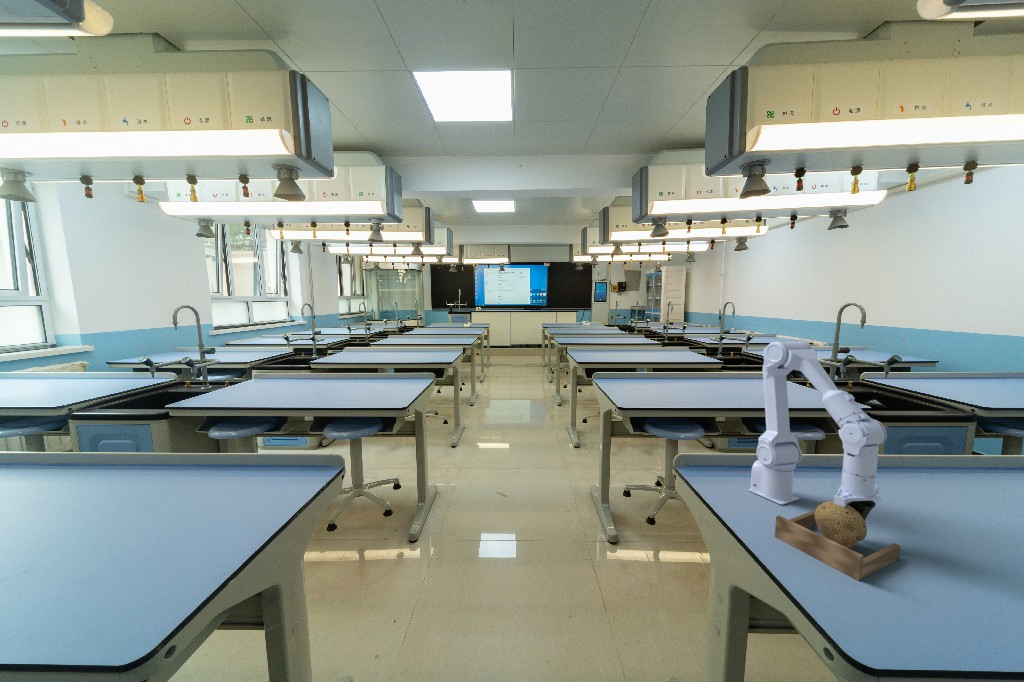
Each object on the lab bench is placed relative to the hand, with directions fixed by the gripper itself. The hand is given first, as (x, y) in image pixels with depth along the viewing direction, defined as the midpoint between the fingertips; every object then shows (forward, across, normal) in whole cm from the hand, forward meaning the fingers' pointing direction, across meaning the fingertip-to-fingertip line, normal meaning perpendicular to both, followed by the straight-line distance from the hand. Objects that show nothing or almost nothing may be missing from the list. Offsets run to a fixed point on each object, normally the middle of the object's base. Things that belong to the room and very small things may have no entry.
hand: (853, 529), depth 90 cm
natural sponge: (+3, -6, 0) cm, 7 cm away
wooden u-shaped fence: (+2, -7, 0) cm, 7 cm away
